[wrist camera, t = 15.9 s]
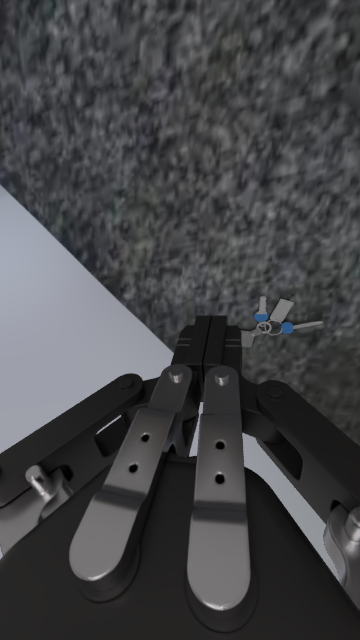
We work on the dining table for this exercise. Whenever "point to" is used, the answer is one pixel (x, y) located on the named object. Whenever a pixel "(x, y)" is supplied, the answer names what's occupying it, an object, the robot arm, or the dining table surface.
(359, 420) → the dining table surface
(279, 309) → the key chain
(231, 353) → the robot arm
